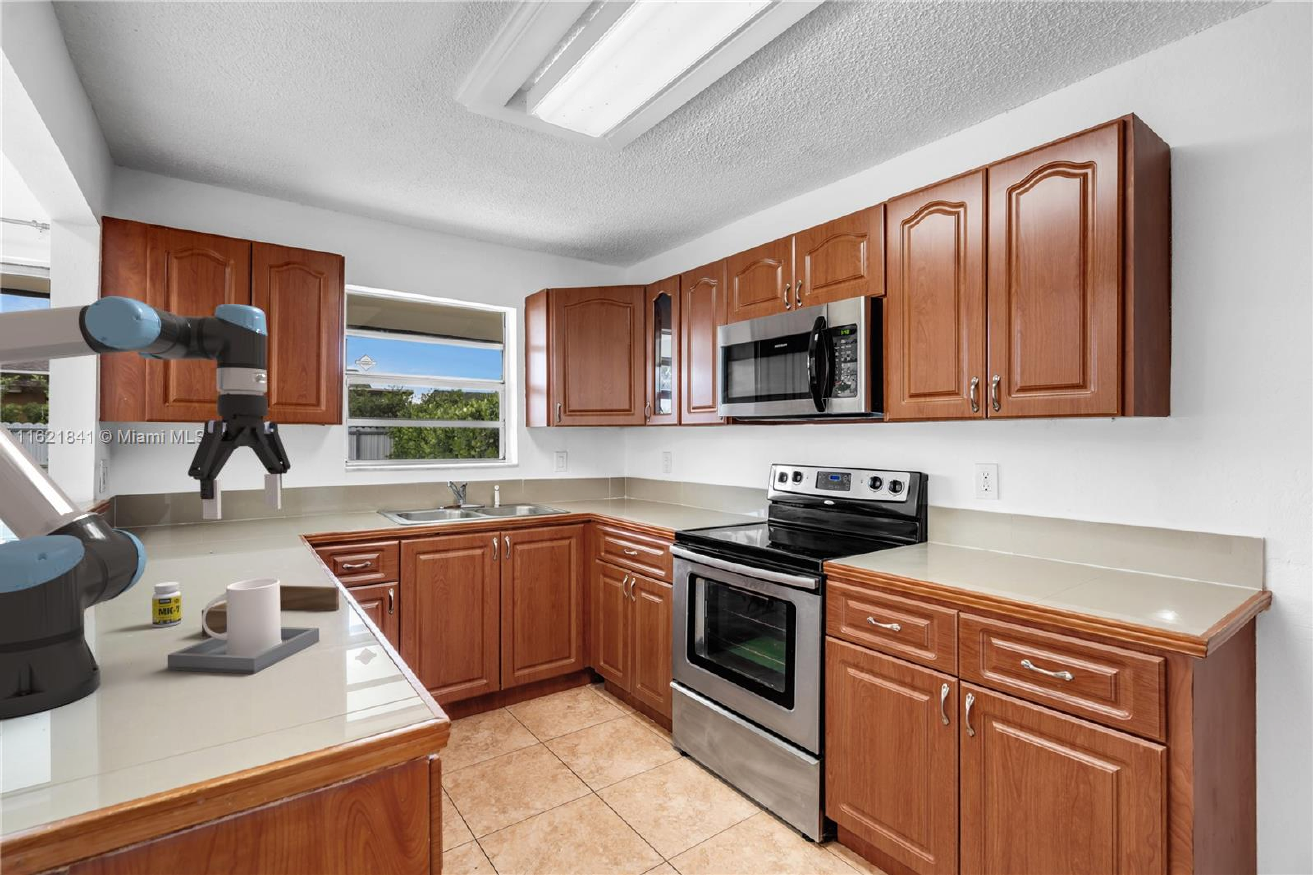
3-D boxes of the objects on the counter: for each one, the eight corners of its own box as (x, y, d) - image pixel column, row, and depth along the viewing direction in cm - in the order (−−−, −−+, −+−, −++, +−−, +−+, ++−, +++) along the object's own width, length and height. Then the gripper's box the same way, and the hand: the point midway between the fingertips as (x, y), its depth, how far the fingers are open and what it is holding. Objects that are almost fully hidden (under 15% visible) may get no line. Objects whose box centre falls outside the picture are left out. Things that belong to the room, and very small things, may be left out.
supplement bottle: (156, 629, 128) (155, 587, 128) (149, 625, 131) (148, 584, 131) (184, 623, 132) (184, 583, 132) (177, 619, 135) (176, 580, 135)
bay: (273, 638, 121) (272, 612, 121) (202, 635, 124) (201, 610, 123) (339, 609, 141) (338, 586, 141) (277, 607, 143) (276, 585, 143)
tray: (254, 673, 104) (254, 658, 104) (167, 669, 106) (167, 654, 106) (319, 641, 120) (319, 628, 120) (242, 638, 122) (242, 625, 122)
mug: (198, 666, 106) (196, 594, 106) (208, 650, 113) (207, 583, 113) (280, 654, 111) (278, 586, 111) (284, 640, 119) (283, 576, 118)
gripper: (201, 389, 100) (203, 524, 100) (310, 397, 124) (311, 505, 125) (159, 389, 101) (161, 523, 101) (275, 397, 125) (277, 505, 126)
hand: (244, 513), depth 113 cm, fingers open, 13 cm apart
